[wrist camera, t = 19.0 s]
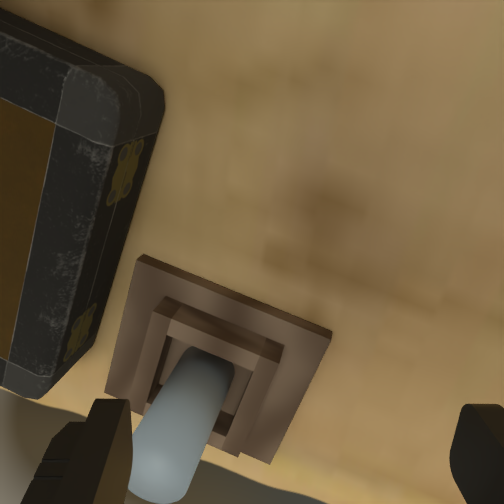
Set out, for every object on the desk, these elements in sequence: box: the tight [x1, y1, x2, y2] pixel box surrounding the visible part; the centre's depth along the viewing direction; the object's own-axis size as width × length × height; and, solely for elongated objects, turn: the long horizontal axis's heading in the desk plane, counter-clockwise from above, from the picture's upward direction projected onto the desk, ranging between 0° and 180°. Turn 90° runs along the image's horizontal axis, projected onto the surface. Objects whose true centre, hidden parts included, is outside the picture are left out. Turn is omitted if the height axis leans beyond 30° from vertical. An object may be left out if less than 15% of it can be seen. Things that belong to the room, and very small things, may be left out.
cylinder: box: [128, 346, 235, 504], centre depth 33 cm, size 5×5×11 cm
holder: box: [104, 254, 332, 465], centre depth 37 cm, size 16×14×4 cm
